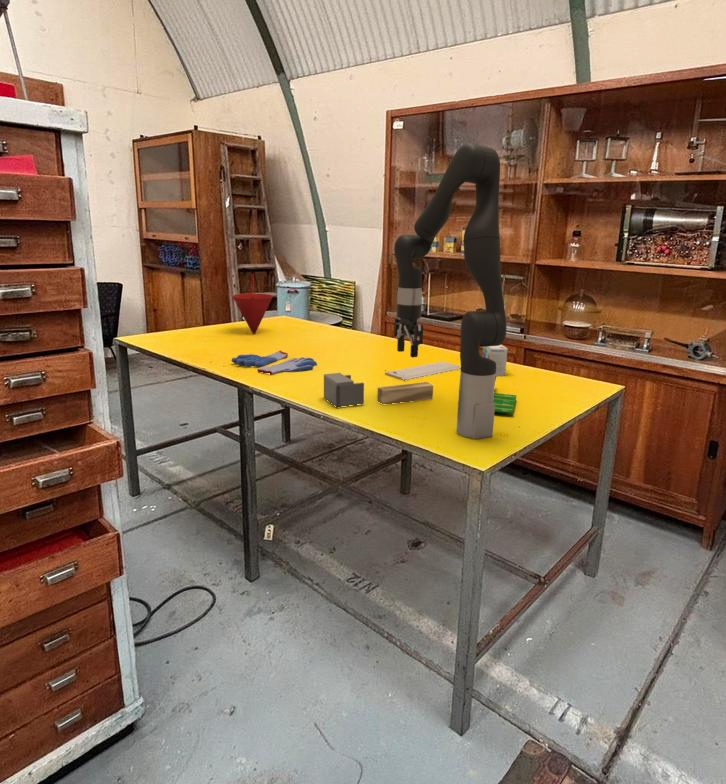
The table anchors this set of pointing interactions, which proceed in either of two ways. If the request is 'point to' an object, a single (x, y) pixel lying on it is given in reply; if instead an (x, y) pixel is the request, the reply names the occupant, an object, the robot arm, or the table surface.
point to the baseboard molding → (422, 371)
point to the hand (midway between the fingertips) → (407, 354)
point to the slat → (405, 393)
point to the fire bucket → (252, 307)
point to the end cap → (342, 390)
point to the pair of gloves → (286, 366)
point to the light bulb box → (497, 357)
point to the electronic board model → (504, 402)
